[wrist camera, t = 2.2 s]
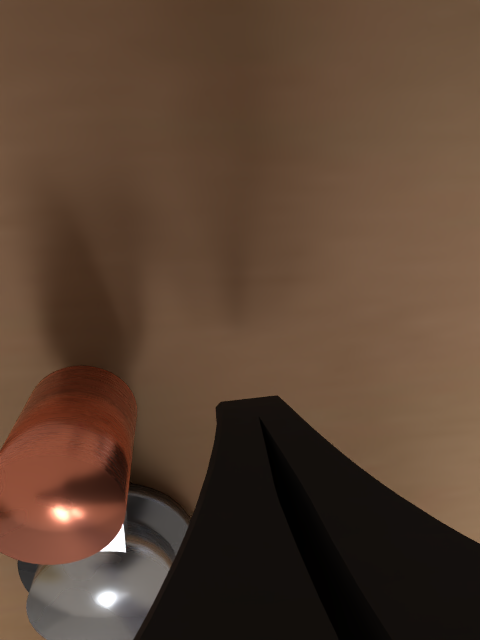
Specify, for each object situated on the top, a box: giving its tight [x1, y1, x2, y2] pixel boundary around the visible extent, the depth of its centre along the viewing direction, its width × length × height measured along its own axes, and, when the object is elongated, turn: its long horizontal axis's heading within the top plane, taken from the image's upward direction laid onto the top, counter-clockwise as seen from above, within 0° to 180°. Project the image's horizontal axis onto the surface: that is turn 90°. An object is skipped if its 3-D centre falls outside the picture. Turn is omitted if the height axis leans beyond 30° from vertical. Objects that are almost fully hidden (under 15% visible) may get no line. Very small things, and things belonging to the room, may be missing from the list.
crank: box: [0, 366, 176, 640], centre depth 10 cm, size 9×4×4 cm, turn 178°
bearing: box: [18, 484, 191, 592], centre depth 13 cm, size 5×5×1 cm
